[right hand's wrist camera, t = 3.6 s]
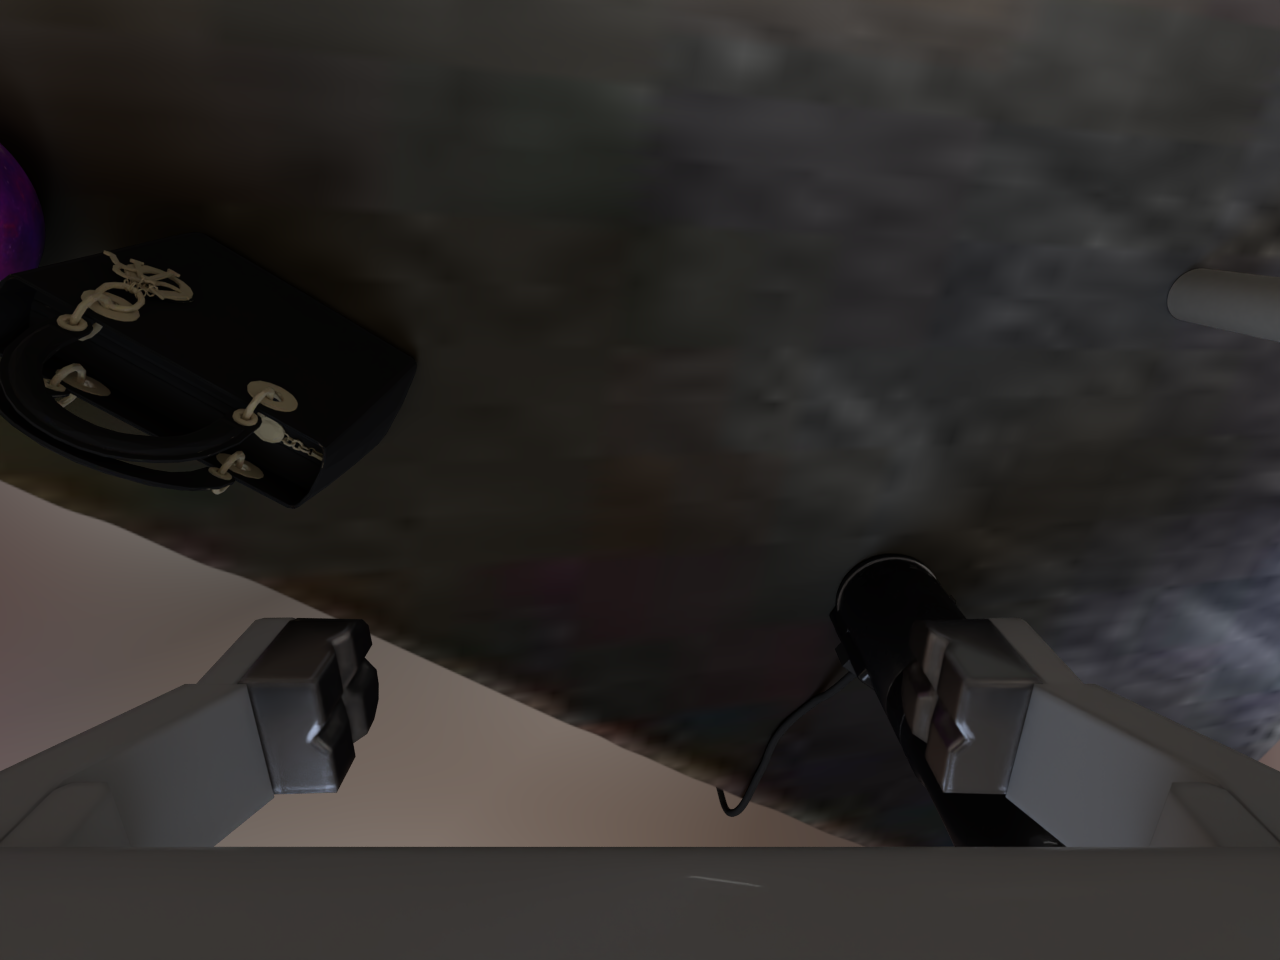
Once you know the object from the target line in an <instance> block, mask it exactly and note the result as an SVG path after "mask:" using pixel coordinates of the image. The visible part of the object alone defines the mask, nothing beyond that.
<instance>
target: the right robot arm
mask: <svg viewBox="0 0 1280 960" xmlns="http://www.w3.org/2000/svg"><path fill="white" fill-rule="evenodd" d="M371 646H372V641H371V636H370V631H369V626H368V624H367V623H366V622H365V621H364V620H363V619H322V618H297V619H295V618H262V619H258V620H255V621H254V622H253V623H252V624H251V626H250V627H249V628H248V629H247V630H246V631H245V632H244V633H243V634H242V635H241V636H240V637H239V638H238V640H237V641H236V642H235V643H234V644H233V645H232V646H231V647H230V648H229V649H228V650H227V651H226V652H225V654H224V655H223V656H222V657H221V658H220V659H219V660H218V661H217V662H216V663H215V664H214V665H213V666H212V668H211V669H210V670H209V671H208V672H207V673H206V674H205V675H204V676H203V677H202V678H201V679H200V680H199V682H198V683H197V684H184V685H182V686H180V687H178V688H176V689H174V690H171V691H169V692H167V693H165V694H163V695H161V696H159V697H157V698H155V699H153V700H150V701H148V702H146V703H144V704H142V705H140V706H138V707H136V708H133V709H131V710H129V711H127V712H125V713H123V714H121V715H119V716H116V717H114V718H112V719H110V720H108V721H106V722H104V723H102V724H100V725H98V726H95V727H93V728H91V729H89V730H87V731H85V732H83V733H80V734H78V735H76V736H74V737H72V738H70V739H68V740H66V741H64V742H61V743H59V744H57V745H55V746H53V747H51V748H49V749H47V750H45V751H42V752H40V753H38V754H36V755H34V756H32V757H30V758H28V759H25V760H23V761H21V762H19V763H17V764H15V765H13V766H11V767H9V768H6V769H4V770H2V771H0V960H1280V772H1279V771H1277V770H1275V769H1273V768H1271V767H1269V766H1267V765H1265V764H1263V763H1260V762H1258V761H1256V760H1254V759H1252V758H1250V757H1248V756H1246V755H1244V754H1241V753H1239V752H1237V751H1235V750H1233V749H1231V748H1229V747H1227V746H1225V745H1222V744H1220V743H1218V742H1216V741H1214V740H1212V739H1210V738H1208V737H1206V736H1203V735H1201V734H1199V733H1197V732H1195V731H1193V730H1191V729H1189V728H1187V727H1184V726H1182V725H1180V724H1178V723H1176V722H1174V721H1172V720H1170V719H1168V718H1165V717H1163V716H1161V715H1159V714H1157V713H1155V712H1153V711H1151V710H1149V709H1146V708H1144V707H1142V706H1140V705H1138V704H1136V703H1134V702H1132V701H1130V700H1127V699H1125V698H1123V697H1121V696H1119V695H1117V694H1115V693H1113V692H1111V691H1109V690H1106V689H1104V688H1102V687H1100V686H1098V685H1096V684H1083V683H1082V682H1081V680H1080V679H1079V678H1078V677H1077V676H1076V675H1075V674H1074V673H1073V672H1072V671H1071V670H1070V669H1069V667H1068V666H1067V665H1066V664H1065V663H1064V662H1063V661H1062V660H1061V659H1060V658H1059V657H1058V656H1057V655H1056V653H1055V652H1054V651H1053V650H1052V649H1051V648H1050V647H1049V646H1048V645H1047V644H1046V643H1045V642H1044V641H1043V639H1042V638H1041V637H1040V636H1039V635H1038V634H1037V633H1036V632H1035V631H1034V630H1033V629H1032V628H1031V627H1030V625H1029V624H1028V623H1027V622H1026V621H1024V620H1022V619H1019V618H1017V617H1011V618H984V619H955V620H915V621H914V623H913V625H912V627H911V629H910V634H909V640H908V646H909V647H910V649H911V651H912V652H913V654H914V656H915V658H914V659H913V660H912V661H911V662H910V664H909V665H908V666H907V667H906V668H905V669H904V670H903V677H902V685H901V694H902V706H903V710H904V714H905V717H906V721H907V723H908V725H909V727H910V729H911V731H912V733H913V734H914V735H915V736H917V737H918V738H920V739H921V740H923V741H924V742H926V743H927V745H926V751H925V756H924V757H925V758H926V760H927V762H928V764H929V766H930V768H931V770H932V772H933V774H934V776H935V778H936V780H937V781H938V783H939V785H940V787H941V789H942V791H943V793H977V794H1006V798H1007V799H1009V800H1010V801H1011V802H1012V803H1014V804H1015V805H1016V806H1017V807H1018V808H1020V809H1021V810H1022V811H1023V812H1025V813H1026V814H1027V815H1028V816H1029V817H1031V818H1032V819H1033V820H1034V821H1036V822H1037V823H1038V824H1039V825H1041V826H1042V827H1043V828H1044V829H1045V830H1047V831H1048V832H1049V833H1050V834H1052V835H1053V836H1054V837H1055V838H1057V839H1058V840H1059V841H1060V842H1061V843H1063V844H1064V845H1065V846H1066V847H214V846H215V845H216V844H217V843H219V842H220V841H221V840H222V839H224V838H225V837H226V836H227V835H229V834H230V833H231V832H232V831H233V830H235V829H236V828H237V827H238V826H240V825H241V824H242V823H243V822H245V821H246V820H247V819H248V818H250V817H251V816H252V815H253V814H254V813H256V812H257V811H258V810H259V809H261V808H262V807H263V806H264V805H266V804H267V803H268V802H269V801H270V800H272V799H273V798H274V794H302V793H336V792H337V791H338V789H339V787H340V785H341V783H342V782H343V779H344V778H345V776H346V774H347V772H348V770H349V768H350V766H351V764H352V762H353V760H354V758H355V751H354V745H353V743H354V742H356V741H357V740H359V739H360V738H362V737H363V736H365V735H366V734H367V733H368V731H369V729H370V727H371V725H372V723H373V721H374V718H375V713H376V709H377V704H378V699H379V696H378V695H379V683H378V676H377V670H376V669H375V668H374V667H373V666H372V665H371V664H370V663H369V661H368V660H367V659H366V658H365V656H366V654H367V653H368V651H369V649H370V647H371Z"/></svg>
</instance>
